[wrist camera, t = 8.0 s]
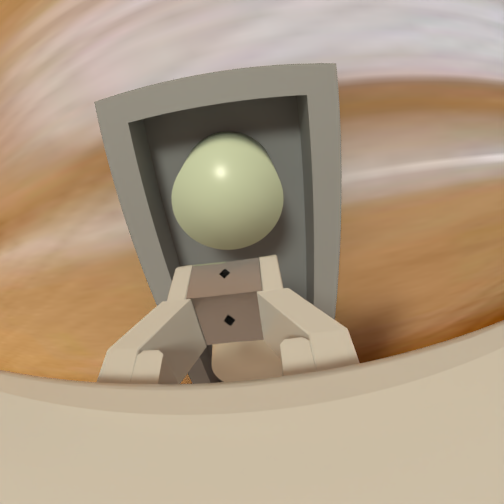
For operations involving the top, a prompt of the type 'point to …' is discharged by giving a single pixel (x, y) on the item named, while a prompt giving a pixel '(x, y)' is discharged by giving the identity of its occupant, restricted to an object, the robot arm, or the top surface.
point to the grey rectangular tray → (259, 128)
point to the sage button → (227, 192)
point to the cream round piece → (245, 361)
